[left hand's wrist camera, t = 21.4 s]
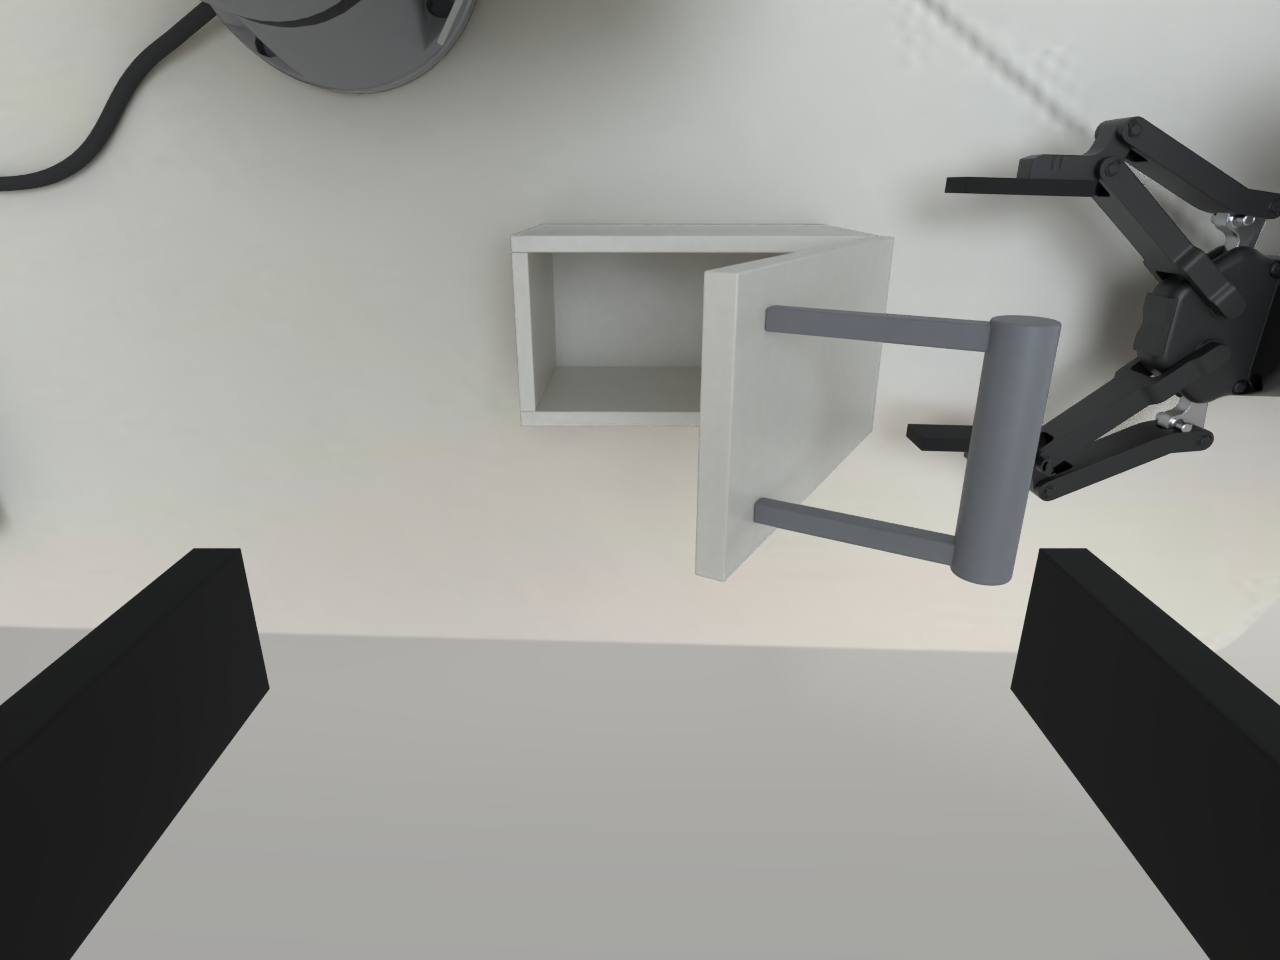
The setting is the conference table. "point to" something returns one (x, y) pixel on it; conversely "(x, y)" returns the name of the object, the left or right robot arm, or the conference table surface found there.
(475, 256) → the conference table surface
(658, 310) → the chest
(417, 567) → the conference table surface
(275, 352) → the conference table surface
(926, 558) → the lid
